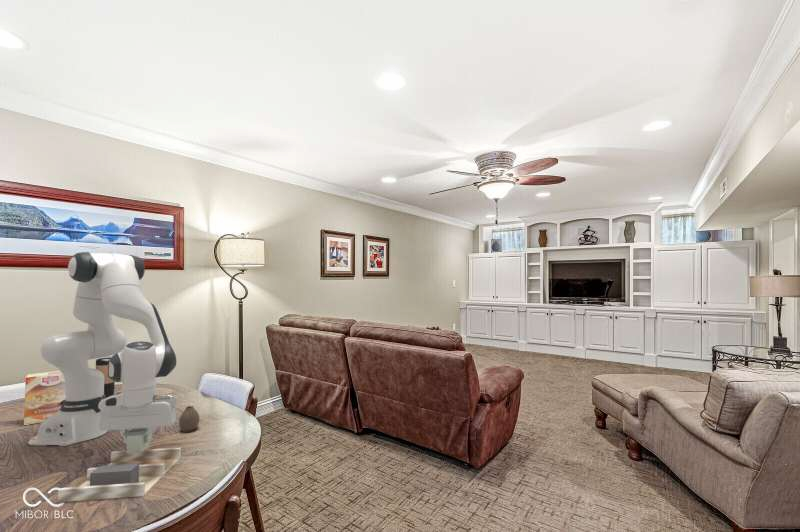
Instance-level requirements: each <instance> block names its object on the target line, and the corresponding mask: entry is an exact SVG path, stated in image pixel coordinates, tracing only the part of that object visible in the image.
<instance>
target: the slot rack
mask: <svg viewBox="0 0 800 532" xmlns="http://www.w3.org/2000/svg"><path fill="white" fill-rule="evenodd" d="M181 454H182V447H170V448H169V447H168V448H166V447H165V448H150V449H149V448H148V449H145V450H144V451H142V452H138V453H127V450H117V451H116V450H115V451H112V452H111V453H110V463H108V464H107V465H106V466H109V465H125V464H139V482H138V483H127V484H113V485H98V486H90V473H91V472H93V471H94V470H96V469H97V468H98V467H89V468H88V469H87V470H86V481H84V482H82V483H81V484H80V485H79V486H73V487H61V488H59V489H58V490H57V494H58V495H57V503H67V502H68V503H69V502H83V501H95V500H108V499H109V500H110V499H120V498H121V499H122V498H123V499H124V498H136V497H137V498H138V497H143V496H144V495H145V494H146V493H147V492H148V491H149V490H150V489H151V488H152V487H153V486H154V485H156V483H157V482H158V481H159V480H160V479H161V478H162V477H163V476H164V475H165V474H166V473H167V472H168V471H169V470H170V469H171V467H173V466H174V465H175V464H176V462H178V461H179V460H180V459H181V457H182V455H181Z"/></svg>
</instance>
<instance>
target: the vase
mask: <svg viewBox="0 0 800 532" xmlns="http://www.w3.org/2000/svg"><path fill="white" fill-rule="evenodd" d="M199 423H200V414H199V413H198V411H197V410H196V409H195V408H194V406H193V405H191V406H190V405H189V406H186V407H185V409H184V411H183V412H182V413H181V415H180V416H179V419H178V425H179V429H180V430H181V431H182V432H184V433H189V431H190V432H193V431H195V430H196V429H197V428H198V426H199Z"/></svg>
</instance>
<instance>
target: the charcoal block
mask: <svg viewBox="0 0 800 532" xmlns="http://www.w3.org/2000/svg"><path fill="white" fill-rule="evenodd" d="M96 468H97V469H96V470H94V471H93V472H91V473H90V486H98V485H113V484H127V483H138V482H139V464H125V465H109V466H107V465H100V466H98V467H96Z"/></svg>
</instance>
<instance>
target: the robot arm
mask: <svg viewBox="0 0 800 532" xmlns="http://www.w3.org/2000/svg"><path fill="white" fill-rule="evenodd" d="M145 270H146V265H145V261H144V260H143V259H142V258H141V257H139V256H137V255H132V254H128V255H127V254H123V253H116V252H115V253H114V252H89V251H83V252H76V253H75V254H73V255H72V256H71V258H70V259H69V262H68V264H67V271H68V274H69V277H70V278H71V279H72V280H73V281H74V282H75V281H76V282H78V283H77V288H76V291H75V298H74V303H73V304H74V305H73V309H72V314H73V316H74V318H75V319H76V320H78V321H80V322H81V323H85V324H87V325H88V326H87V327H88V328H87V330H81V331H80V330H79V331H71V332H69V331H68V332H63V333H62V332H61V333H58V334H55V335H54V334H53V335H52V336H49V337H47V338H46V339H45V340H44V341H43V342H42V345H41V348H40V354H41V357H42V359H43V360H44V361H46V362H47V363H49V364H50V365H53V366H55V367H56V368H57V369H58V371H61V372H62V374H63V376H64V378H65V387H66V399H65V400H63V401H61V402H60V403H57V404H59V405H57V407H58V406H60V405H61V407H60V410H59V411H58V412H56V413H55V414H54V415H52V416H51V417H50V418H48V419H47V420H45V421H44V422H43V423H40V424H39V427H38V431H37V434H36V436H34V437H32V438H30V440H28V441H27V442H28V443H27V445H28V444H29V445H28V446H46V445H59V446H58V447H67V446H70V445H74V444H76V443H81V442H86V441H90V440H92V439H96V438H98V437H101V436H103V435H104V434H106V433H108V432H109V431H118V430H119V434H120V436H121V437H122V439H123V445H127V432H129V431H130V430H132V429H141V428H148V431H149V434H148V435H146V436H145V437H144V443H150V442H152V441H153V435H154V433H155V431H156V430H157V428H158V429H159V428H169V427H171V426H172V425H173V424H174V423H175V422H176V421H177V415H176V414H177V413H176V398H175V397H174V396H172V395H171V394H164V395H160V394H157V381H156V378H163V377H167V376H168V375H169V374H171V372H173V370H174V369H175V368H176V367H177V355H176V352H175V350H174V349H173V347H172V346H171V343H170V341H169V338H168V335H167V333H166V329H165V327H164V324H163V321H162V318H161V316H160V314H159V311H158V309H157V308H156V306H155V304H154V303H152V302H150V301H148V299H147V298H146V297H145V295H144V294H143V292H142V284H141V280H142V279H143V278H144V275H145ZM112 315H113V316H114V317H117V318H120V319H126V320H130V321H133V322H137V323H138V324H141V325H143V327H145V329H146V330H147V334H148V337H149V340H150V342H149V341H142V340H141V341H132V342H130V343H128V342H127V340H128V338H127V336H126V334H125V333H124V331H123V330H121V329H119V328H118V327H117V326H116V325H115V323H114V321H113V318H112V317H113V316H112ZM110 356H111V358H110V360H109V361H108V377H109V378H110V379H111V380H113V381H115V383H122V385H121V388H120V391H119V392H117V393H114V395H112V396H109V397H107V398H106V399H105V394H104V375H103V373H102V372H101V371H99V370H96V368H94V367H93V368H92V367H90V366H89V363H88V361H89V360H94V359H95V360H96V359H100V358H109V357H110Z"/></svg>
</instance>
